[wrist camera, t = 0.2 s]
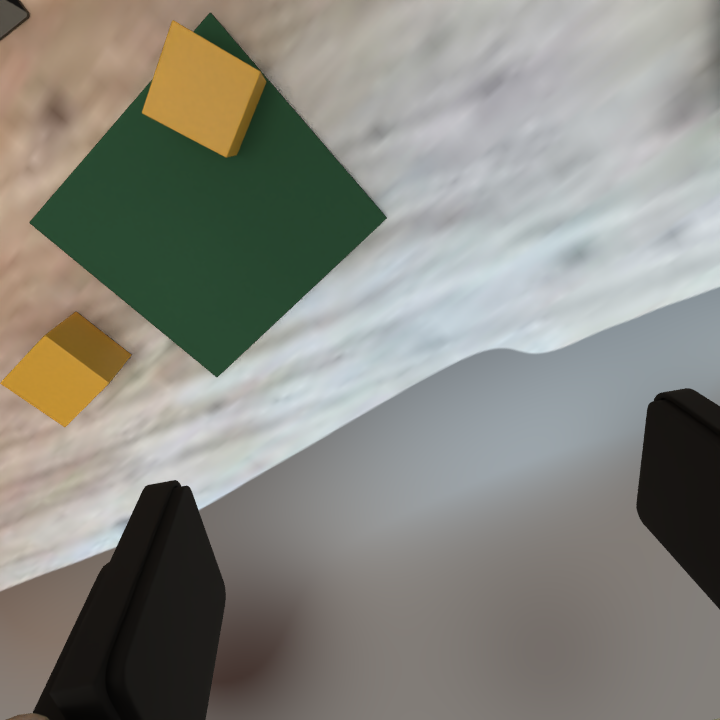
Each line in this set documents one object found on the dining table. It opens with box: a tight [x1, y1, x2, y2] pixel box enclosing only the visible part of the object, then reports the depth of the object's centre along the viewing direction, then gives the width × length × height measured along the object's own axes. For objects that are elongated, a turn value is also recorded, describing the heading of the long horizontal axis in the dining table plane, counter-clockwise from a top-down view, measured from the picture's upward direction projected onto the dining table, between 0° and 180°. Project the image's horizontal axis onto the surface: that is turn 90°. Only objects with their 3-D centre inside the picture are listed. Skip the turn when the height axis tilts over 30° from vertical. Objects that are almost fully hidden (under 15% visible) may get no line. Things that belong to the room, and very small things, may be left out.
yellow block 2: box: [142, 20, 266, 157], centre depth 36 cm, size 6×6×6 cm
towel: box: [29, 13, 387, 377], centre depth 42 cm, size 20×22×1 cm
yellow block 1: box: [0, 312, 131, 427], centre depth 44 cm, size 6×6×6 cm
